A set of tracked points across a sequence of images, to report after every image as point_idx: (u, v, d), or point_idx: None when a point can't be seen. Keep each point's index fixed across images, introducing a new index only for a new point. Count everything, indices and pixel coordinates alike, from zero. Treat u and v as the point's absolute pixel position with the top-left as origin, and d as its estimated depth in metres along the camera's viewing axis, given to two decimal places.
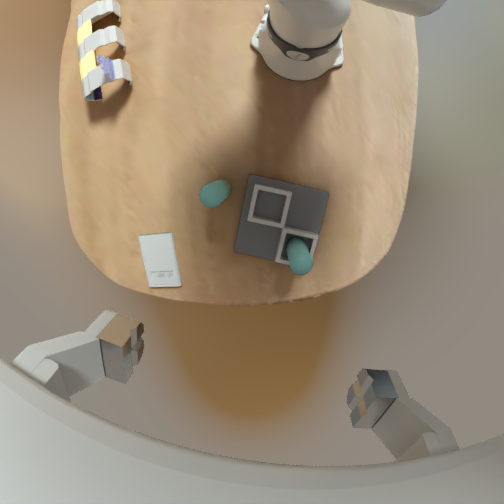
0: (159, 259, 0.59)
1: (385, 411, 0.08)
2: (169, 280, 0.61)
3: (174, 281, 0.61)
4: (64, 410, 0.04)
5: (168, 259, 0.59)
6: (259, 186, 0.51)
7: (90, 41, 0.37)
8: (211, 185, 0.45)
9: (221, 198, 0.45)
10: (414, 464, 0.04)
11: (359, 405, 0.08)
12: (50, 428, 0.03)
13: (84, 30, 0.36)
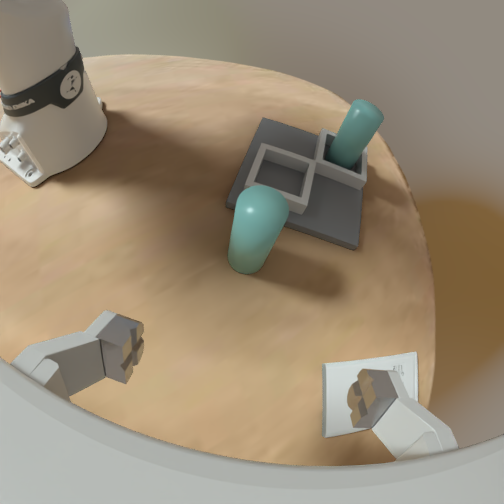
0: None
1: (385, 411, 0.08)
2: (409, 373, 0.26)
3: (410, 363, 0.27)
4: (64, 410, 0.04)
5: None
6: (249, 179, 0.30)
7: None
8: (240, 202, 0.21)
9: (270, 189, 0.21)
10: (414, 464, 0.04)
11: (359, 405, 0.08)
12: (50, 428, 0.03)
13: None
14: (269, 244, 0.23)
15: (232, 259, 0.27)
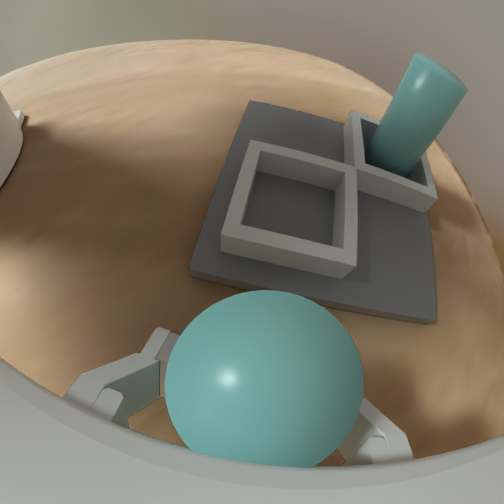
0: None
1: None
2: None
3: None
4: (64, 410, 0.04)
5: None
6: (229, 219, 0.14)
7: None
8: (179, 380, 0.05)
9: (292, 303, 0.06)
10: (414, 464, 0.04)
11: None
12: (50, 428, 0.03)
13: None
14: None
15: None
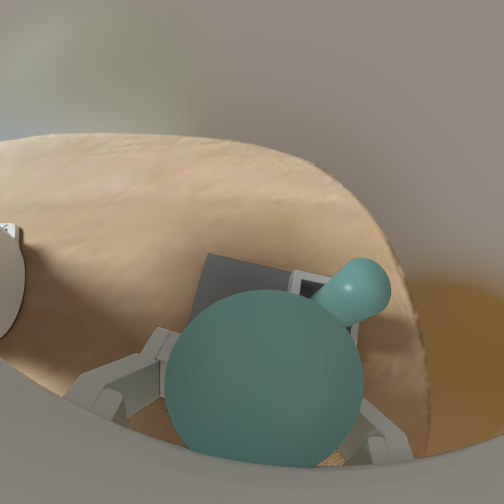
0: None
1: None
2: None
3: None
4: (64, 410, 0.04)
5: None
6: None
7: None
8: (179, 380, 0.05)
9: (292, 303, 0.06)
10: (414, 464, 0.04)
11: None
12: (50, 428, 0.03)
13: None
14: None
15: None
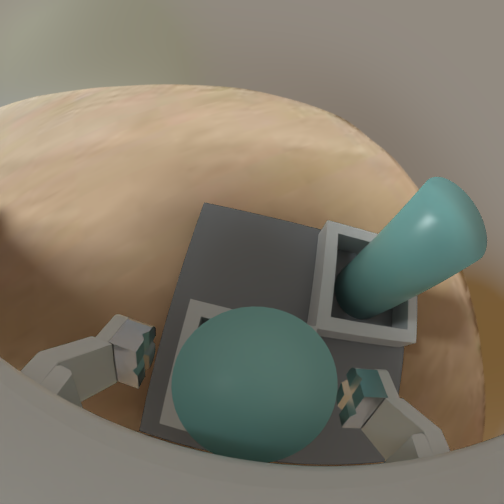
0: None
1: (375, 411, 0.08)
2: None
3: None
4: (64, 410, 0.04)
5: None
6: (166, 408, 0.12)
7: None
8: (183, 380, 0.06)
9: (276, 317, 0.07)
10: (414, 464, 0.04)
11: (348, 404, 0.08)
12: (50, 428, 0.03)
13: None
14: None
15: None
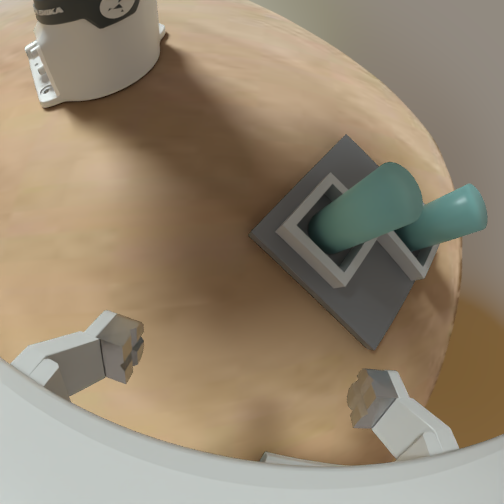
0: None
1: (385, 411, 0.08)
2: None
3: None
4: (64, 410, 0.04)
5: None
6: (291, 218, 0.22)
7: None
8: (381, 173, 0.15)
9: (411, 177, 0.15)
10: (414, 464, 0.04)
11: (359, 405, 0.08)
12: (50, 428, 0.03)
13: None
14: (379, 234, 0.17)
15: (318, 229, 0.22)
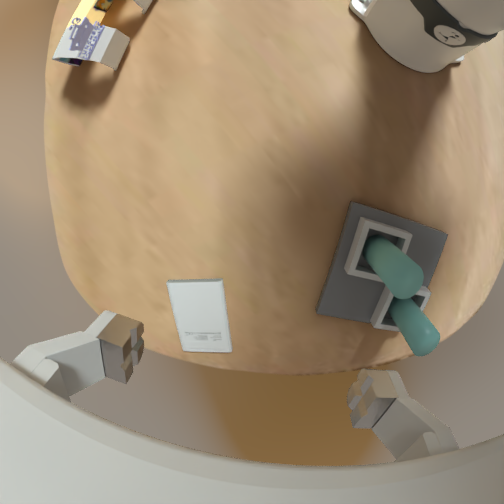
0: (201, 317, 0.40)
1: (385, 411, 0.08)
2: (214, 345, 0.41)
3: (222, 346, 0.41)
4: (64, 410, 0.04)
5: (215, 318, 0.39)
6: (371, 223, 0.31)
7: None
8: (411, 265, 0.24)
9: (419, 285, 0.25)
10: (414, 464, 0.04)
11: (359, 405, 0.08)
12: (50, 428, 0.03)
13: None
14: (382, 280, 0.28)
15: (373, 242, 0.32)
